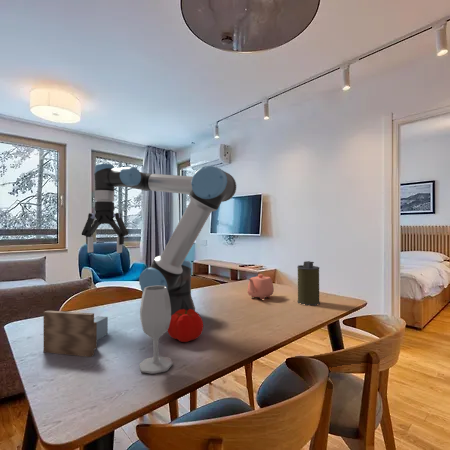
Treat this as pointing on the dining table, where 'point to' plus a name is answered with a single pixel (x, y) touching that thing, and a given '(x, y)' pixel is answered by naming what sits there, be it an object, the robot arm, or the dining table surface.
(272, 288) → the teapot
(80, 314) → the panel
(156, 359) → the wineglass
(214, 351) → the dining table surface
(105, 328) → the rail
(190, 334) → the tomato
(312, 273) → the canister
